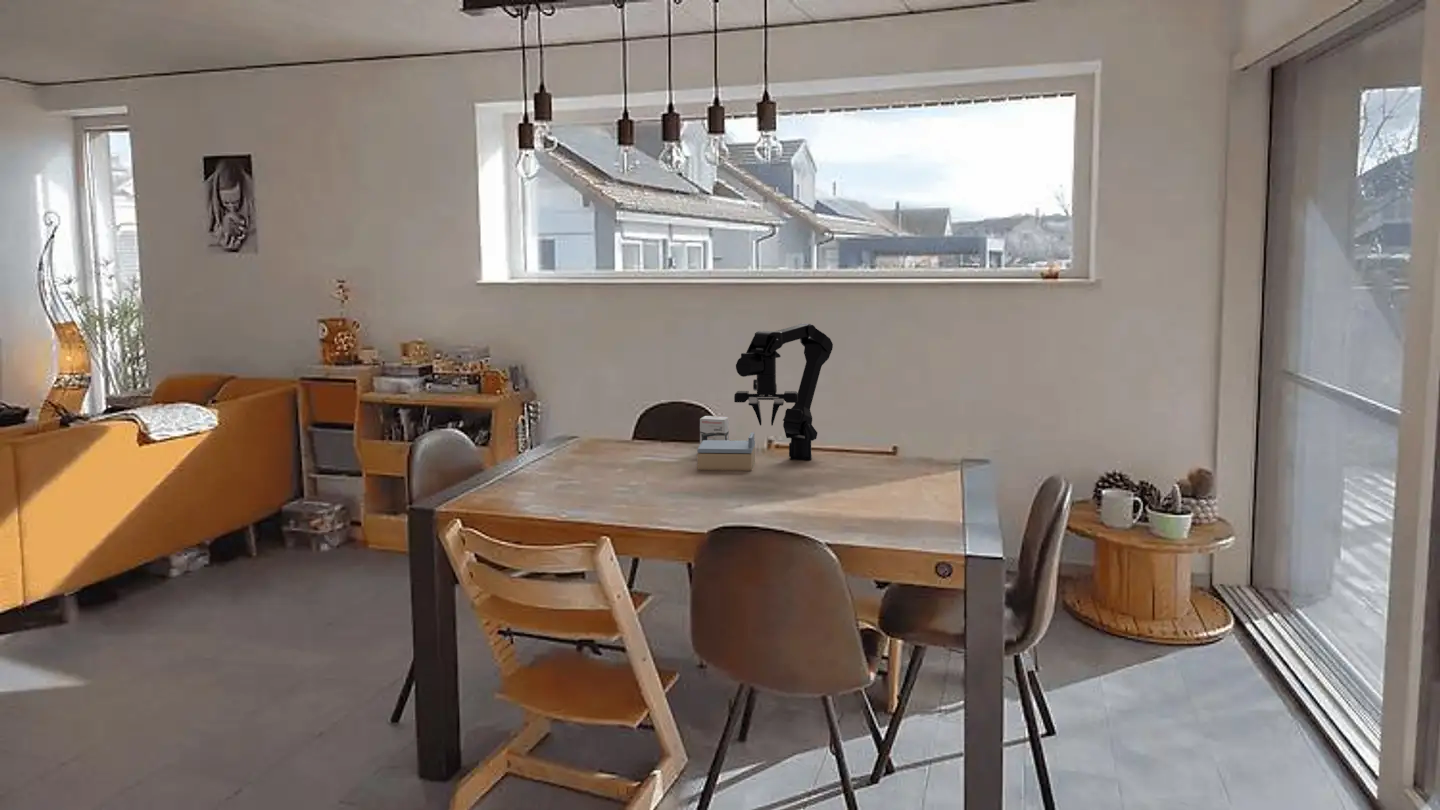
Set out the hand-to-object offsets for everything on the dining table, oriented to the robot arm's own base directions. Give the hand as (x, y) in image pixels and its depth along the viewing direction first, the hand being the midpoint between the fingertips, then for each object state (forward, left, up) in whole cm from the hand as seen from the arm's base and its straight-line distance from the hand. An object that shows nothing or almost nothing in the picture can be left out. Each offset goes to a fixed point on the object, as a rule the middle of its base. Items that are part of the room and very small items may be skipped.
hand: (766, 425), depth 313 cm
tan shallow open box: (+12, 0, -12) cm, 17 cm away
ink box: (+18, -19, -13) cm, 29 cm away
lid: (+12, 0, -7) cm, 14 cm away
